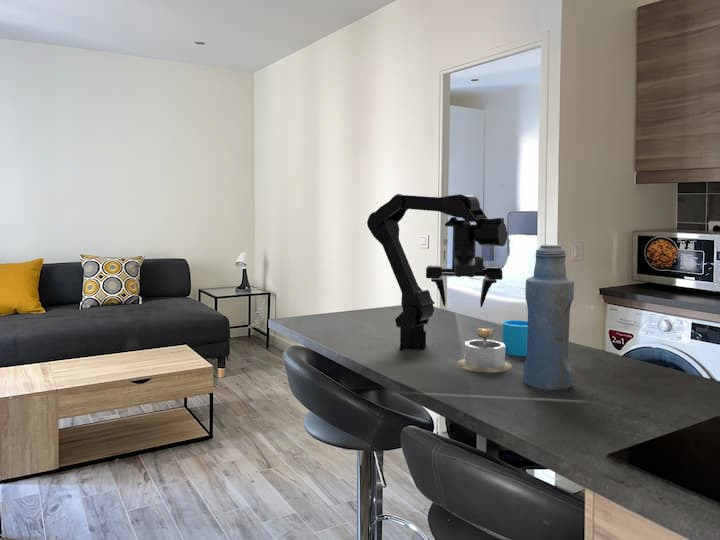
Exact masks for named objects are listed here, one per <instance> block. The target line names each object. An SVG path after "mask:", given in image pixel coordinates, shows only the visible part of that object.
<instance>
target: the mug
mask: <svg viewBox="0 0 720 540" xmlns="http://www.w3.org/2000/svg"><path fill="white" fill-rule="evenodd" d="M527 325H528V320H517V319H515V320H504V321H502V327H501V328H502V331H501V335H502V336H501V342H502V343H504V345H505V355H510V356H516V357H527Z"/></svg>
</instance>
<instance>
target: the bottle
mask: <svg viewBox="0 0 720 540" xmlns="http://www.w3.org/2000/svg"><path fill="white" fill-rule="evenodd" d="M566 257H567V254H566V250H565V249H564V248H562V245H559V244H558V245H556V244H541V245H540V247H539V248H537V249H536V251H535V263H534V269H533V276H531V277H530V276H529V277H527V278H526V279H525V301H526V305H527V306H526V307H527V321H528V325H527V356H525V357H526V358H525V362H524V364H523V369H522V370H523V372H522V373H523V377H522V378H523V379H522V381H523V383H524V385H526V386H528V387H530V388H531V387H532V388H535V389H540V390H545V391H563V390H564V391H565V390H568V389H569V388H571V386H572V366H571V363H570V358H569V347H570V346H569V345H570V340H569V339H570V321H571V320H570V315H571V305H572V303H573V301H574V297H575V296H574V295H575V294H574V293H575V280H574V279H572V278H569V277H567V270H566V269H567V268H566Z"/></svg>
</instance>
